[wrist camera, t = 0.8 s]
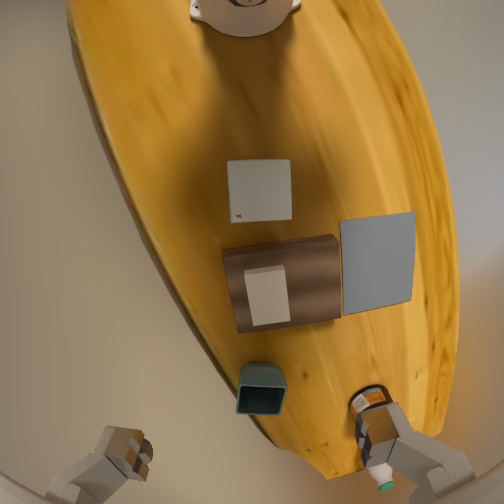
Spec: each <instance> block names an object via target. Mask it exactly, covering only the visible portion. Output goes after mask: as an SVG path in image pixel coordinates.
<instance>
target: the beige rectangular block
mask: <svg viewBox="0 0 504 504" xmlns="http://www.w3.org/2000/svg"><path fill="white" fill-rule="evenodd" d="M244 278H245V283H246V289H247V294H248V300H249V305H250V310H251V316H252V321H253V326H257V325H264V324H271V323H279V322H285V321H290V312H289V303H288V294H287V286H286V277H285V269H284V266H283V265H277V266H270V267H263V268H256V269H250V270H244Z"/></svg>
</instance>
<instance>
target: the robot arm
mask: <svg viewBox="0 0 504 504" xmlns="http://www.w3.org/2000/svg"><path fill="white" fill-rule="evenodd" d="M300 5H301V0H191V5H190V16H191V18H193V19H196V20H199V21H204V22H206V23H208V24H209V25H210V26H212V27H213V28H214V29H216V30H218V31H220V32H222V33H224V34H227V35H231V36H238V37H251V36H258V35H262V34H265V33H268V32H270V31H272V30H274V29H275V28H277V27H278V26H279V25H281V24H282V22H283V21H284V20H285V19H286V17H287V15H288V14H289V13H290V11H292V10H294V9H296V8H297V7H299V6H300ZM196 7H198V8H197V9H196ZM357 421H358V423H357V424H356V426H355V437H356V442H357V445H358V447H359V448H361V449H362V453H361V458H362V461H363V464H364V467H365V469H366V468H370V467H374V466H377V465H381V464H384V463H386V464H387V465H389V466H390V467H391V468H393V469H394V470H396V471H397V472H398V473H400V474H401V475H402V476H404V477H405V478H407V479H408V480H409V481H411V482H412V483H414V484H415V485H417V486H418V487H417V488H416V489H415V491H414V492H413V493H412V494H411V496H410V497H409V499H408V500H409V503H410V504H504V460H502V461H501V462H500V463H498V464H497V465H495V466H494V467H492V468H491V469H489V470H488V471H487V472H485V473H483V474H482V475H480V476H479V477H477V478H476V476H475V474H474V472H473V470H472V468H471V467H470V465H469V463H468V461H467V459H466V457H465V455H464V453H462V452H460V451H458V450H455V449H453V448H451V447H449V446H447V445H445V444H443V443H441V442H439V441H436V440H434V439H432V438H430V437H428V436H426V435H425V434H423V433H421V432H419V431H415V432H414V431H413V429H412V428H411V426H410V424H409V422H408V420H407V418H406V416H405V414H404V412H403V410H402V408H401V406H400V404H399V403H398V402H393V403H390V404H387V405H384V406H383V405H382V406H379V407H376V408H372V409H369V410H365V411H362V412H358V414H357ZM152 457H153V448H152V445H151V444H150V442H149V441H148V440H146V439H145V438H144V434H143V432H142V431H141V430H136V429H127V428H120V427H114V426H107V427H105V429H104V431H103V433H102V435H101V437H100V439H99V441H98V444H97V445H96V448H95V450H94V452H93V453H89V454H88V455H86V456H85V457H84V458H82V459H80V460H79V461H77V462H76V463H74V464H73V465H71V466H70V467H68V468H66V469H65V470H63V471H62V472H60V473H58V474H57V475H55V476H54V478H53V480H52V482H51V484H50V486H49V488H48V490H47V493H46V495H45V497H44V496H42V495H40V494H38V493H36V492H34V491H33V490H31V489H29V488H27V487H25V486H24V485H22V484H20V483H19V482H17V481H15V480H14V479H12V478H11V477H9V476H7V475H6V474H4V473H3V472H1V471H0V504H102V503H104V502H105V501H106V500H107V499H108V498H109V497H110V496H111V495H113V494H114V493H115V492H116V491H117V490H118V489H119V488H120V487H121V486H122V485H123V484H124V483H125V482H126V481H127V480H128V479H132V480H138V481H146V478H147V475H148V471H149V468H148V466H147V464H148V463H150V462H151V461H152Z"/></svg>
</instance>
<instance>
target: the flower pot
mask: <svg viewBox="0 0 504 504" xmlns="http://www.w3.org/2000/svg"><path fill="white" fill-rule="evenodd" d="M287 388H288V387H287V384H286V381H285V378H284V375H283V373H282V371H281V369H280V368H279V367H277V366H276V365H274V364H272V363H259V362H248V363H247V364H245V365H244V366H243V368H242V370H241V374H240V379H239V385H238V395H237V406H236V413H237V414H248V415H249V414H250V415H280V414H281V412H282V408H283V404H284V399H285V396H286V392H287Z"/></svg>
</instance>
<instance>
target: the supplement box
mask: <svg viewBox="0 0 504 504" xmlns="http://www.w3.org/2000/svg"><path fill="white" fill-rule="evenodd" d="M227 174H228V191H229V204H230V220H231V223H243V222H257V221H272V220H291V219H292V190H291V167H290V159H249V160H229V161H227Z"/></svg>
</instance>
